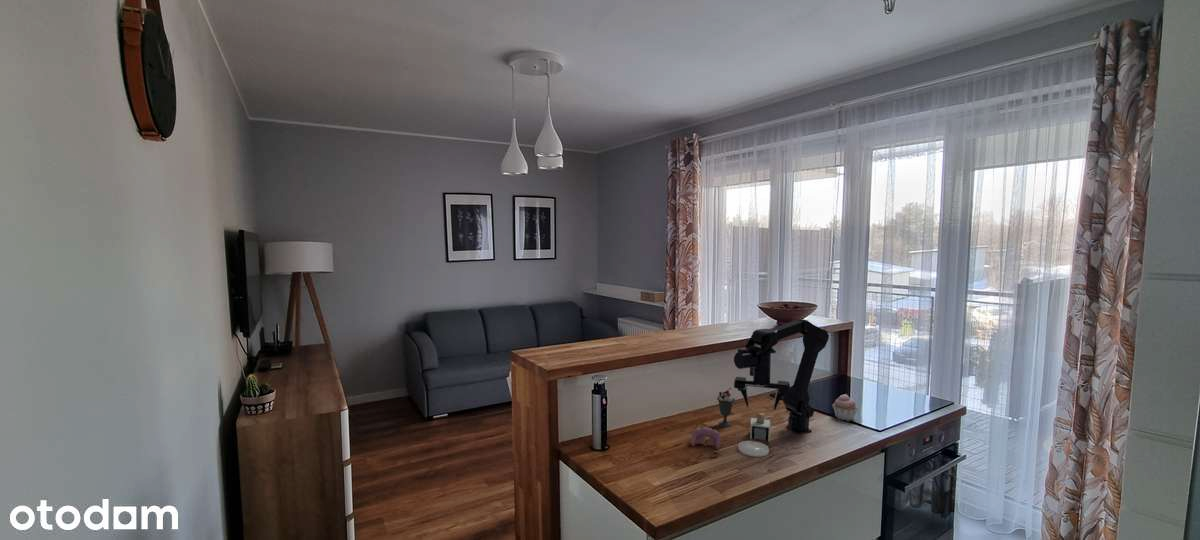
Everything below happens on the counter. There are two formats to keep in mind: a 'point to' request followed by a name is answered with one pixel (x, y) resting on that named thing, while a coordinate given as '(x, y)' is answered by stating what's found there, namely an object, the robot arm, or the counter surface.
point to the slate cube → (759, 433)
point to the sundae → (725, 406)
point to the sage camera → (760, 424)
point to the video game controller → (708, 432)
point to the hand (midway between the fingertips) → (761, 408)
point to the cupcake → (845, 408)
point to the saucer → (753, 448)
